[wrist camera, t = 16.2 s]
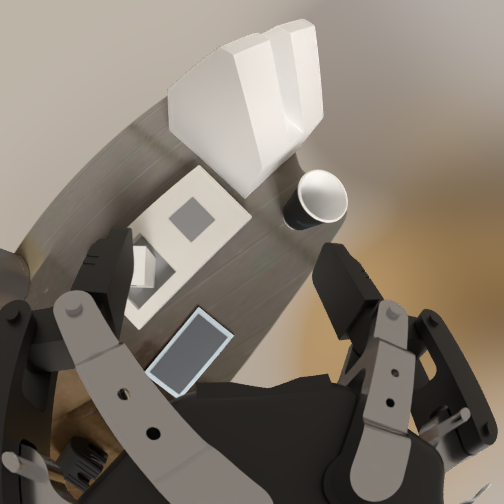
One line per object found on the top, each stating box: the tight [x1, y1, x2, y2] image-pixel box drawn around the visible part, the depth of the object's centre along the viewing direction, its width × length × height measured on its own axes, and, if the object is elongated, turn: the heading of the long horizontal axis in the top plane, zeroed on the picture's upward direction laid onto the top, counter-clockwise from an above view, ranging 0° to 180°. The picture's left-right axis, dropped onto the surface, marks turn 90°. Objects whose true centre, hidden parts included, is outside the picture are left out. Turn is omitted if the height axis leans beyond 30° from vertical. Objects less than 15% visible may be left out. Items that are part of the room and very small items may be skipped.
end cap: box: [56, 437, 108, 492], centre depth 27 cm, size 10×7×7 cm
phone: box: [145, 307, 234, 398], centre depth 39 cm, size 14×7×1 cm, turn 141°
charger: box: [130, 246, 156, 288], centre depth 34 cm, size 5×4×10 cm
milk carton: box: [168, 19, 323, 199], centre depth 35 cm, size 19×15×25 cm
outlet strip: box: [124, 165, 252, 330], centre depth 40 cm, size 24×12×3 cm, turn 137°
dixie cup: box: [283, 170, 348, 230], centre depth 42 cm, size 8×8×11 cm
